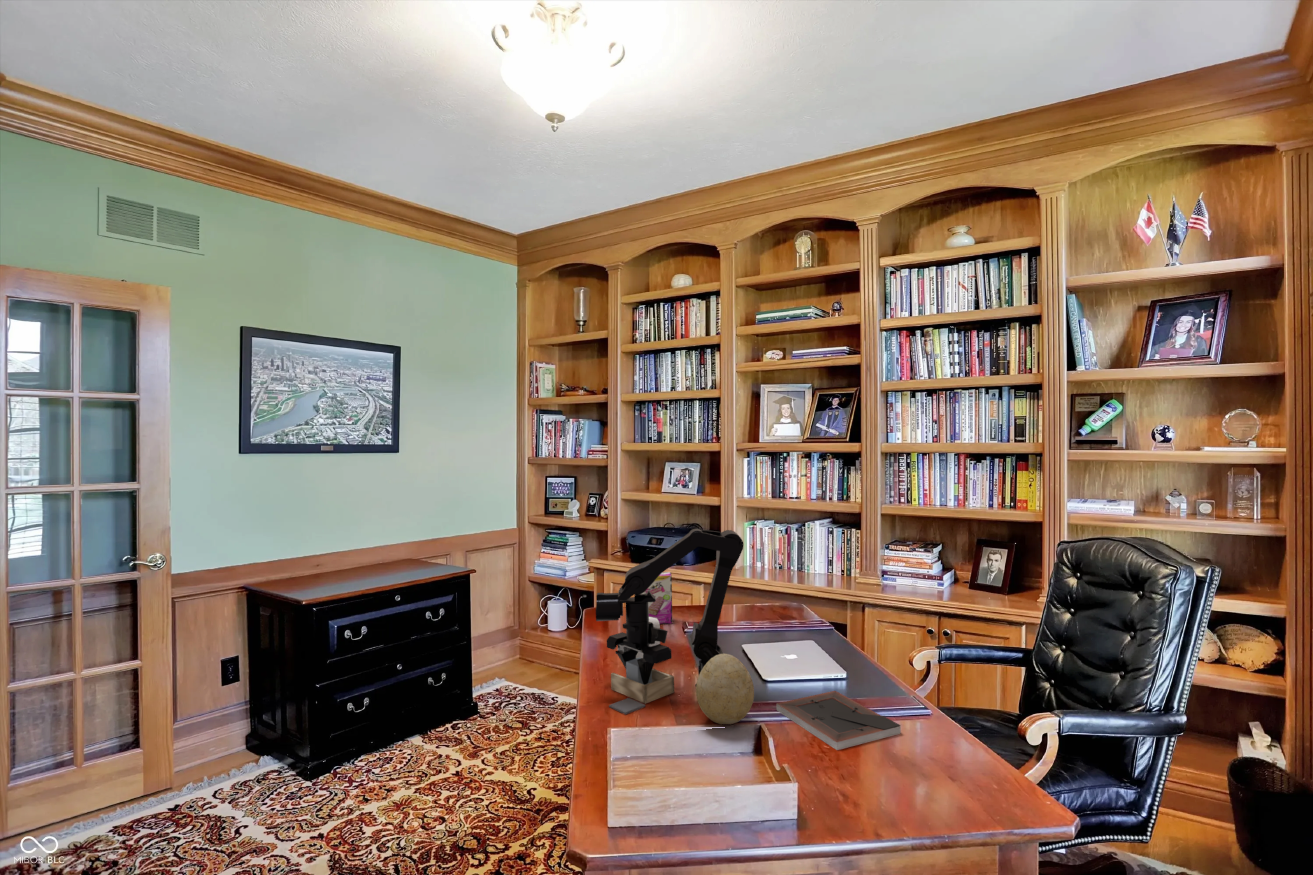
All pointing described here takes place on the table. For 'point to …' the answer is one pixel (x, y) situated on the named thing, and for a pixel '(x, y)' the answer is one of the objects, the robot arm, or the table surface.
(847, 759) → the table surface
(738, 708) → the fossilized egg
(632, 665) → the slate block
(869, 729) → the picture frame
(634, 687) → the u-shaped bracket
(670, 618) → the candy bar box
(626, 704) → the felt coaster
